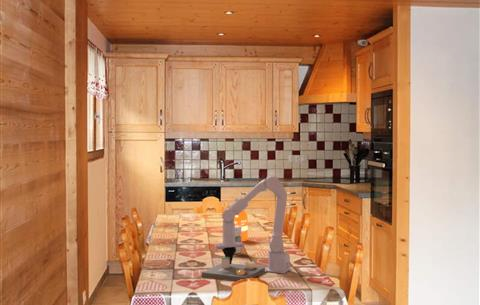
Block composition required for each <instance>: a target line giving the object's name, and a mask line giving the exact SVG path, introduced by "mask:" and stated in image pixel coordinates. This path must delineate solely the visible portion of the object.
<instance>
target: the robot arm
mask: <svg viewBox="0 0 480 305" xmlns="http://www.w3.org/2000/svg"><path fill="white" fill-rule="evenodd" d="M267 190H269V191H271V192H272V193H273V194H274V195H275V196H276V202H275V211H274V220H273V229H272V234H271V237H270V238H269V250H268V268H267V269H265V272H270V273H278V274H286V273H287V272H289V271H290V270H291V266H290V265H291V264H290V263H291V261H290V259H291V257H290V253H289V252H287V251H286V252H285V250H284V249H285V248H284V240H283V235H284V234H283V232H284V225H285V224H284V223H285V214H286V208H287V198H288V193H287V191H286V188H284V185H283V183H282V181H281V180H280V179H279V178H278V177H277V176H276V175H274V174H273V175H272V174H270V175H267V176H266V178H264V179H262V180H261V181H259V183H256V185H255V186H254V187H253V188H252V189H250V190H249V192H248V193H247V194H245V195H244V196H243V197H241V196H239V197H235V199H234V201H233V202H232V203H231V204H230V205H228V206H227V208H226V209H224V210H223V212H222V215H221V218H222V243H219V244H214V245H213V250H215V251H217V250H221V251H222V252H223V255H224V257H230V264H233V263H232V261H233V259H234V256H235V254H234V253H235V252H236V249H235V247H242V248H243V247H245V246H244V241H242V242H236V243H235V224H234V218H235V216H236V215H239V214H240V213H241V212H242V211H243V210H244V211H245V209H247V207H248V206H249V202H250V201H251V200H252V199H254V198H255V197H256V196H257V195H258V194H261V192H266V191H267Z"/></svg>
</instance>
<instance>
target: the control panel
mask: <svg viewBox="0 0 480 305" xmlns="http://www.w3.org/2000/svg"><path fill="white" fill-rule="evenodd" d="M236 270H245V275H244V276H242V275H236ZM265 270H266V267H264V266H256V265H255V270H247V269H246V264H239V263H231V264H230V267H229V268H222V262H221V263H219V264H217V265H215V266H213V267H210V268H207V269H206V270H204V271H202V272H201V277H202V278H210V279H217V280H225V281H234V282H238V281H237V280H240V279H246V278H250V277H255V278H256V277H257V276H260V275H261V274H264V273H265V272H266V271H265Z"/></svg>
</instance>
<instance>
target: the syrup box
mask: <svg viewBox="0 0 480 305" xmlns="http://www.w3.org/2000/svg"><path fill="white" fill-rule="evenodd" d="M236 242H243V241H242V227H241V226H238V225H235V243H236ZM242 248H243V247H235V249H236V252H235V253H234V255H237V254H241V253H242Z"/></svg>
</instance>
